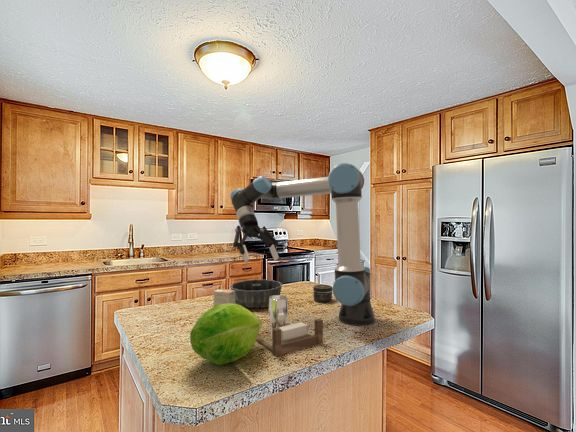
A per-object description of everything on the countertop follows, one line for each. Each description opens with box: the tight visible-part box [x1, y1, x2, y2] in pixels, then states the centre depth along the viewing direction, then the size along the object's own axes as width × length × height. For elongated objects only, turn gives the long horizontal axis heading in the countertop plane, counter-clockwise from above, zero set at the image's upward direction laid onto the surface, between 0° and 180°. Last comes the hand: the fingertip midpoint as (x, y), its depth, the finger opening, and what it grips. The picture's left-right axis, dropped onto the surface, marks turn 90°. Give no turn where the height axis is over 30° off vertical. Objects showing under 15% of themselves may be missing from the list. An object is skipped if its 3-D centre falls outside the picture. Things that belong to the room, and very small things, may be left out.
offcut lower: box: [281, 331, 311, 343], centre depth 106 cm, size 4×12×3 cm, turn 122°
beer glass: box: [268, 294, 289, 339], centre depth 114 cm, size 7×7×15 cm
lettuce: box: [189, 303, 263, 366], centre depth 97 cm, size 19×25×17 cm
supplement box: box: [213, 288, 236, 307], centre depth 133 cm, size 8×5×13 cm, turn 65°
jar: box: [312, 284, 333, 304], centre depth 166 cm, size 10×10×8 cm
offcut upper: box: [279, 321, 308, 340], centre depth 106 cm, size 4×10×3 cm, turn 125°
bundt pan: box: [229, 278, 283, 309], centre depth 160 cm, size 26×26×10 cm
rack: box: [256, 318, 324, 357], centre depth 111 cm, size 21×18×9 cm
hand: (262, 260), depth 124 cm, fingers open, 13 cm apart
